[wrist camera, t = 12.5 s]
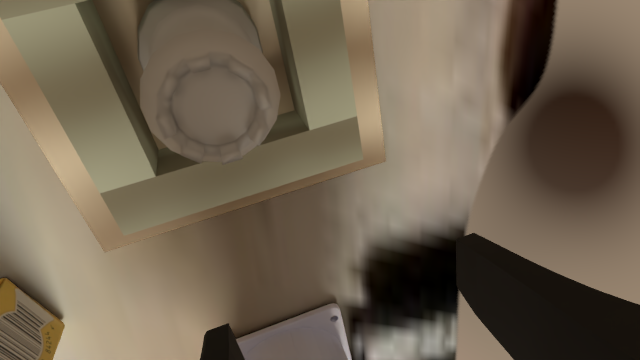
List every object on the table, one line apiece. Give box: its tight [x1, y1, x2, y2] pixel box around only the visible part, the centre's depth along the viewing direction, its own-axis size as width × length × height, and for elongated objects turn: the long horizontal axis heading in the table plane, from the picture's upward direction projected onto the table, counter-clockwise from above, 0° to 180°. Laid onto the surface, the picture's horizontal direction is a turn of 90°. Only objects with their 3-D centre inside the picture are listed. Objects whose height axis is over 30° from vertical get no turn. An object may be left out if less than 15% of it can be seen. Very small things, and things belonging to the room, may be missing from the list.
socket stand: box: [0, 0, 386, 252], centre depth 15 cm, size 14×14×3 cm
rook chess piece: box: [138, 0, 280, 165], centre depth 12 cm, size 4×4×8 cm
